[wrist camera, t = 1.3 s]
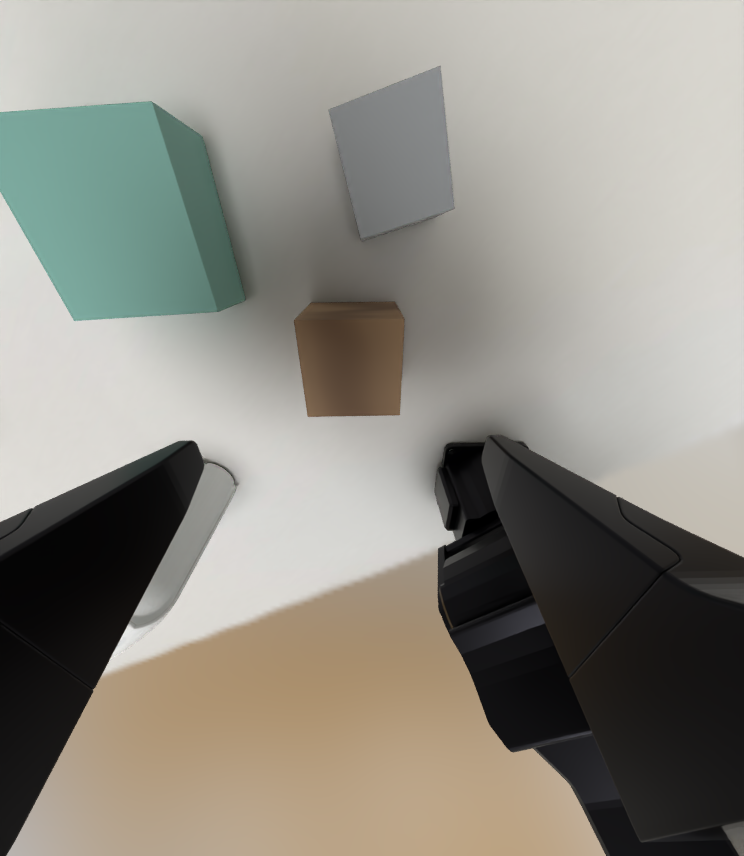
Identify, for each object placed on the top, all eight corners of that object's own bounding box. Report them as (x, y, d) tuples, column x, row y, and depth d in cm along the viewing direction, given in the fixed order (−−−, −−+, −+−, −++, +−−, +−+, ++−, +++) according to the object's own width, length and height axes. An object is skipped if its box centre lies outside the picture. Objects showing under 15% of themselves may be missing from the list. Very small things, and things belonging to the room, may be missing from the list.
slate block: (420, 112, 13) (440, 65, 10) (434, 217, 15) (454, 208, 12) (337, 144, 14) (328, 109, 10) (361, 241, 16) (360, 239, 12)
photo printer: (174, 531, 28) (58, 704, 17) (132, 506, 26) (-28, 683, 15) (247, 483, 25) (160, 658, 14) (205, 451, 23) (68, 624, 12)
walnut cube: (394, 301, 17) (404, 319, 13) (392, 379, 20) (399, 415, 16) (311, 302, 17) (293, 320, 13) (319, 380, 20) (307, 416, 16)
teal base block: (205, 138, 14) (151, 101, 10) (247, 299, 17) (218, 311, 14) (58, 148, 14) (-44, 115, 10) (131, 306, 17) (74, 320, 14)
